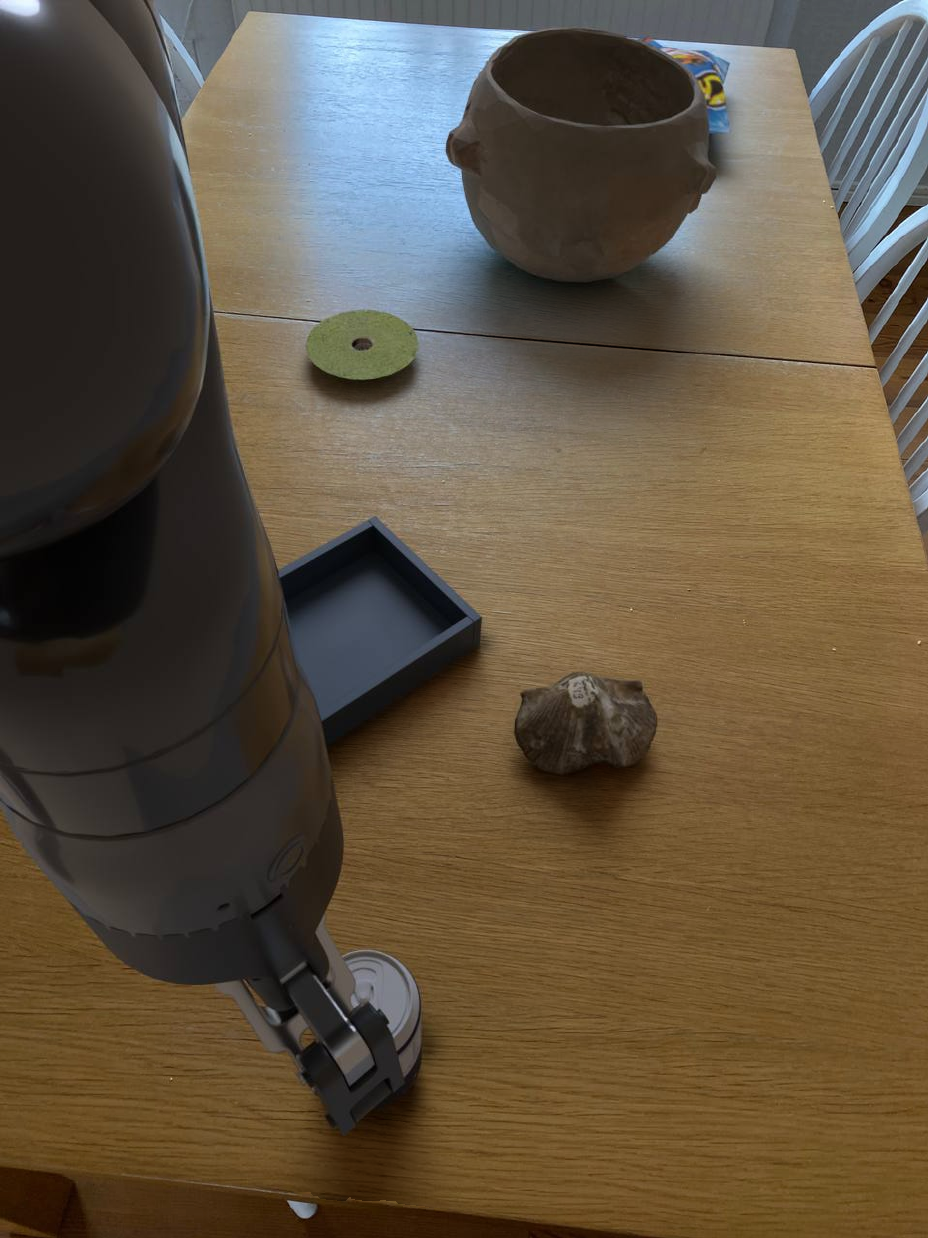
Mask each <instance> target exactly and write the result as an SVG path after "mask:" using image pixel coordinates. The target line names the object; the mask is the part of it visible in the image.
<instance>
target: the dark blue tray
mask: <svg viewBox="0 0 928 1238" xmlns="http://www.w3.org/2000/svg"><path fill="white" fill-rule="evenodd" d="M278 572H279V578H280V581H281V585H282V589H283V594H284V598H285V603H286V608H287V612H288V617H289V622H290V626H291V631H292V636H293V640H294V645H295V649H296V654H297V658H298V660H299V662H300V664H301V666H302V668H303V670H304V672H305V674H306V676H307V679H308V681H309V683H310V686H311V688H312V690H313V693H314V696H315V700H316V703H317V707H318V710H319V714H320V717H321V722H322V727H323V732H324V738H325V743H326V748H327V747H329V746H330V745H332V744H333V743H335V742H336V741H338V740H339V739H341V738H342V737H344V736H345V735H347V734H349V733H350V732H351V731H353V730H354V729H356V728H357V727H359V726H361V725H362V724H364V723H365V722H366V721H368V720H369V719H371V718H372V717H374V716H375V715H376V714H378V713H380V712H382V710H384V709H386V708H387V707H389V706H391V705H392V704H393V703H394V702H396V701H398V700H400V699H401V698H403V697H404V696H405V695H407V694H408V693H410V692H412V691H413V690H415V689H416V688H417V687H419V686H420V685H421V684H422V685H423V683H425V682H426V681H428V680H429V679H431V678H432V677H434V676H435V675H437V674H438V673H440V672H441V671H443V670H444V669H446V668H447V667H449V666H450V665H452V664H453V663H455V662H457V661H458V660H459V659H461V658H462V657H464V656H466V655H467V654H468V653H470V652H471V651H473V650H475V649H476V648H477V647H479V646H480V645H481V638H482V637H481V635H482V623H483V617H482V616H481V614H480V613H479V612H478V611H476V610H475V609H474V608H473V607H472V606H471V604H469V603H468V602H467V601H466V600H465V599H464V598H463V597H462V596H461V595H460V594H458V592H456V591H455V590H454V589H453V588H452V587H451V586H450V585H449V584H448V583H447V582H446V581H445V580H444V579H443V578H442V577H440V575H439V574H437V573H436V572H435V571H434V570H433V569H432V568H431V567H429V565H428V564H427V563H425V562H424V561H423V560H422V559H421V558H420V557H419V556H418V555H417V553H415V552H414V551H413V550H412V549H411V548H409V546H408V545H407V544H405V542H403V540H401V539H400V537H398V536H397V535H396V534H395V533H394V532H393V531H392V530H391V529H390V528H389V527H388V526H387V525H386V524H384V522H382V521H381V520H380V519H379V518H378V517H377V516H376V515H374V516H372V517H369V518H368V519H367V520H365V521H363V522H361V523H359V524H358V525H356V526H354V527H353V528H350V529H349V530H347V531H346V532H343V533H342V534H340V535H338V536H336V537H334V538H333V539H331V540H330V541H327V542H326V543H324V544H322V545H321V546H318V547H317V548H315V549H313V550H312V551H310V552H308V553H307V554H304V555H303V556H301V557H299V558H298V559H295V560H294V561H292V562H290V563H288V564H286V565H285V566H283V567H282V568H279V569H278Z"/></svg>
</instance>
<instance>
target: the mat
mask: <svg viewBox="0 0 928 1238" xmlns="http://www.w3.org/2000/svg"><path fill="white" fill-rule="evenodd" d="M305 351H306V354H307V356H308V358H309V359H310V361H311V362H312V364H313V365H315V366H316V367H318V368H319V369H320V370H321V371H323V372H325V373H327V374H329V375H331V376H336V377H338V378H344V379H347V380H352V381H353V380H361V381H363V380H364V381H365V380H373V379H374V380H375V379H378V378H383V377H388V376H390V375H393V374H395V373H397V372H400V371H401V370H402V369H404V368H405V367H407V366H408V365H409V364H410V363H412V361H413V360H414V359H415V357H416V355H417V354H418V351H419V339H418V335H417V333H416V331H415V330H414V328H413V327H412V326H411V325H410V324H409V323H407V321H404V319H401V318H400V317H398V316H396V315H393V314H391V313H388V312H383V311H378V310H372V309H357V310H349V311H345V312H344V311H342V312H339V313H337V314H334V315H332V316H330V317H327V318H325V319H323V320H321V321H320V322H319V323H317V324H316V325H315V326H314V327H313V328H312V329H311V330H310V332H309V333H308V336H307V338H306V341H305Z"/></svg>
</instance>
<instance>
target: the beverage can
mask: <svg viewBox="0 0 928 1238" xmlns="http://www.w3.org/2000/svg"><path fill="white" fill-rule="evenodd" d="M342 957H343V959H344V960H345V962H346V964H347V966H348V967H349V969H350V971H351V973H352V974H353V976H354V978H355V981H356V987H355V990H354V992H353V994H352V996H351V1004H352V1006H353V1008H355V1007H356V1006H358V1005H359V1004H360V1003H364V1004H366V1003H367V1002H370V1003H371V1004H372V1005H373V1007H374V1008H375V1009H376V1010H378V1009H381V1010H382V1012H383V1013H384V1014H385V1016H386V1017H387V1019H388V1020H389V1024H388V1025H387V1026H388V1028H389V1029H390V1031H391V1033H392V1035H393V1039H394V1043H395V1046H396V1050H397V1054H398V1058H399V1062H400V1065H401V1069H402V1073H403V1077H404V1081H405V1083H404V1084H403V1085H402V1086H401V1087H399V1088H398V1089H397V1090H396V1091H395V1092H394V1093H393V1092H392V1091H391V1093H390V1094H389V1095H388V1096H387V1097H386V1098H384V1099H383V1100H382V1101H381V1102H380V1103H379V1104H378V1105H376V1106H375V1107H374V1108H373V1109H375V1108H376V1109H377V1108H382V1107H386V1106H389V1105H391V1104H393V1103H395V1102H396V1101H398V1100H400V1099H402V1097H403V1096H404V1095H406V1094H407V1093H408V1092H409V1091H410V1089H411V1087H412V1086H413V1085H414V1083H415V1081H416V1080H417V1078H418V1075H419V1073H420V1070H421V1066H422V1061H423V1060H422V1059H423V1048H422V1047H423V1043H422V1042H423V1039H422V1038H423V1037H422V999H421V992H420V989H419V986H418V983H417V981H416V979H415V977H414V975H413V973H412V972H411V971H410V970H409V968H408V967H407V966H406V965H405V964H404V963H403V962H401V961H400V960H399V959H398V958H396V957H394V956H392V955H390V954H388V953H386V952H382V951H378V950H372V949H360V950H354V951H351V952H347V953H346V954H344V955H342ZM313 1038H314V1037H313ZM315 1040H316V1039H315V1038H314V1041H315Z"/></svg>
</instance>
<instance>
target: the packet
mask: <svg viewBox="0 0 928 1238" xmlns="http://www.w3.org/2000/svg"><path fill="white" fill-rule="evenodd" d="M637 40H640V41H644V42H647V43H649V44H651V45H653V46H654V47H656V48H658V49H660V50H662V51H663V52H665V53H667V54H669V55H671V56H672V57H674V58H675V59H676V60H678V61H679V62H681V63H682V64H683V65H684V66H686V67H687V68H688V69H689V70H691V71H692V73H693V74H694V76H695V77H696V78H697V80H698V81H699V84H700V86H701V89H702V91H703V93H704V96H705V98H706V102H707V109H708V117H709V134H715V135H719V134H728V133H731V125H730V120H729V113H728V108H727V102H726V95H725V91H724V84H725V81H726V78H727V74H728V71H729V68H730V64H731V63H730V62H729V61H727V60H725V59H723V58H721V57H719V56H717V55H715V54H713V53H711V52H709V51H707V50H705V49H704V50H702V49H701V50H700V49H684V48H677V47H676V48H675V47H669V46H663V45H661V44H660V43H659V42H657V41H656V40H654V39H653V38H652V37H650V36H648V35H647V36H643V37H640V38H637Z"/></svg>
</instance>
